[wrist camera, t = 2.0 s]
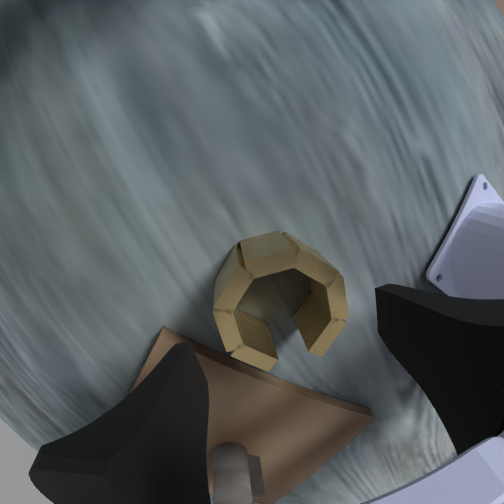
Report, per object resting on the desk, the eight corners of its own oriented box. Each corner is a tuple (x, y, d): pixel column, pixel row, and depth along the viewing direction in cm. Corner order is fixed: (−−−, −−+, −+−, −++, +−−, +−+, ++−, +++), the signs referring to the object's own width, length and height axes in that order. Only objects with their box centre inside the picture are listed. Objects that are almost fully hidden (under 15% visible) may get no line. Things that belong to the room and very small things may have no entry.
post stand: (369, 408, 19) (398, 459, 14) (269, 496, 22) (276, 541, 16) (163, 326, 16) (140, 389, 11) (104, 446, 19) (88, 496, 13)
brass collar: (205, 250, 15) (199, 273, 12) (312, 221, 15) (336, 236, 12) (234, 341, 17) (236, 379, 13) (329, 315, 17) (352, 346, 13)
